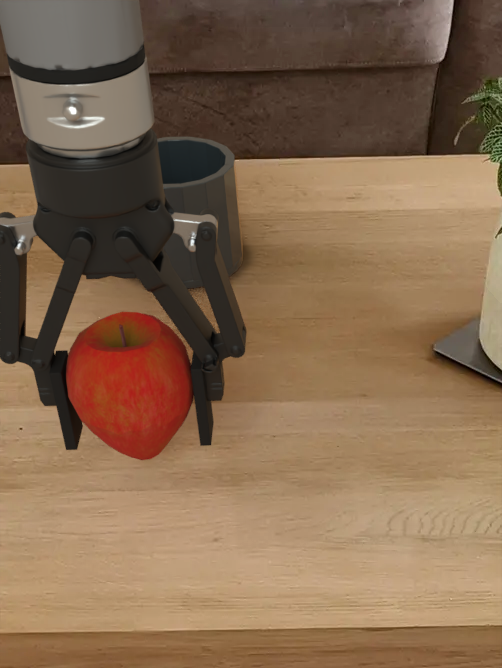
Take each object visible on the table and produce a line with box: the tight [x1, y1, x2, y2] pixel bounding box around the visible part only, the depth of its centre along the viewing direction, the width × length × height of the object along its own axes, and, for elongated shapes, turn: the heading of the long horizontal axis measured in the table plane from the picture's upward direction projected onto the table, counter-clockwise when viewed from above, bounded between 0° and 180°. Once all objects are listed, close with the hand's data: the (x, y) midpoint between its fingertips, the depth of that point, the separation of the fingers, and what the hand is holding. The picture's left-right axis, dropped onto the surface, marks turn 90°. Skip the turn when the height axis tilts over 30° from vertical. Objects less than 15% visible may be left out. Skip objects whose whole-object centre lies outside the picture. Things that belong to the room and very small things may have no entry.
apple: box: [66, 311, 194, 461], centre depth 80 cm, size 9×8×11 cm
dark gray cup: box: [136, 136, 244, 290], centre depth 107 cm, size 11×11×10 cm
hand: (141, 435), depth 83 cm, fingers closed on apple, 8 cm apart
